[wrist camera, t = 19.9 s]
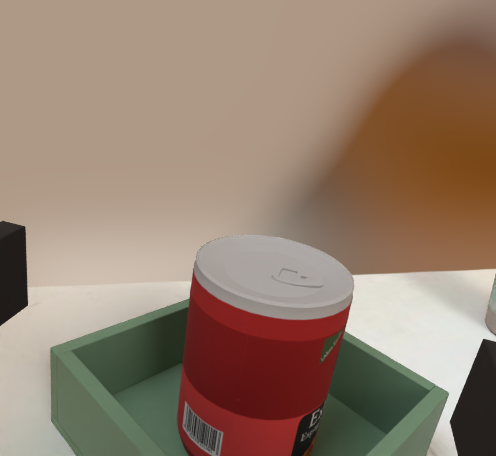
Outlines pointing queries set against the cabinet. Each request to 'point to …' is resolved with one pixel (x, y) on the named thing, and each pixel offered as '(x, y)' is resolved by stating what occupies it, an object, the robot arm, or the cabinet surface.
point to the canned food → (260, 346)
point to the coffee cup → (492, 310)
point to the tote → (168, 388)
